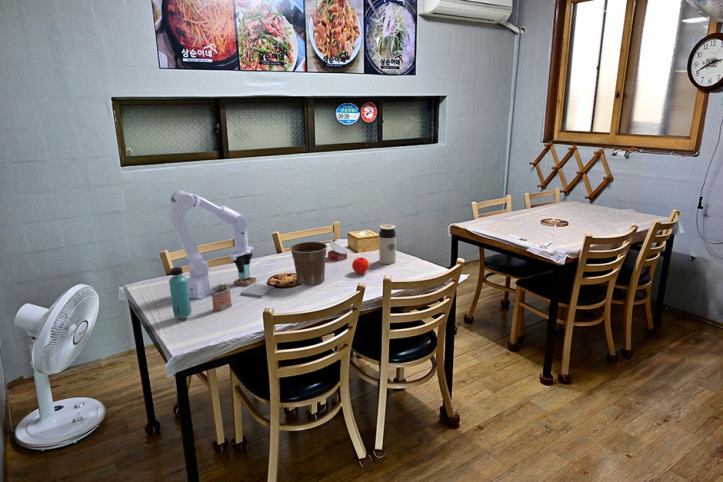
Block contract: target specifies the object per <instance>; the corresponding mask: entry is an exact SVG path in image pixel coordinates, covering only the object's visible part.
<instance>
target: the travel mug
mask: <svg viewBox="0 0 723 482" xmlns="http://www.w3.org/2000/svg"><path fill="white" fill-rule="evenodd" d="M395 228H396V225H394V224H381V225H380V226H379V229H380V231H379V235H378V236H379V237H378V239H379V240H378V241H379V242H378V243H379V244H378V245H379V253H378V254H379V262H380V263H382V264H385V265H391V264H394V263H395V262H396V259H397V257H396V256H397V255H396V253H397V252H396V251H397V250H396V247H397V245H396V243H397V239H396V238H397V237H396V235H397V232H396V230H395Z"/></svg>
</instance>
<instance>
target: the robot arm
mask: <svg viewBox="0 0 723 482" xmlns="http://www.w3.org/2000/svg"><path fill="white" fill-rule="evenodd" d="M169 201H170V206H169V211H168V218H169V220H170V222H171V224H172V226H173V229H174V231H175V233H176V235H177V237H178V239H179V242H180V244H181V245H182V248H183V250H184V252H185V255H186V256H185V257H186V261H187V263H186V264H187V267H188V268H189V270H190V271H189V276H188V278H187V286H188V293H189V298H192V299H199V300H202V299H204V298H205V297H207V296H208V295H211V293H212V292H214V291H213V289H211V287H210V279H209V278H210V277H209V270H210V268H209V267H210V266H209V263H208V262H207V261H206V260H205V259H204V258H203V256H202V254H201V253H200V252H199V249H198V247H197V245H196V243H195V242H196V241H194V239H193V236H192V233H191V231H190V229H189V227H188V224H187V222H186V220H185V218H184V217H185V216H186V214H187V212H188V211H189V210H191V208H192V207H193V208H197V207H200V208H204V209H205V210H208V211H210V212H212V213H214V214H215V216H216V218H217V219H219V220H221V221H223V222H225V223H227V224H230V225H231V226H232V230H233V233H232V234H233V241H234V243H233V244H234V252H233V253H232V254H231V255H230V261H233V263H234V265H235V266H236V269H237V272H238V271H239V272H240V273H243V272H244V264H249V266H251V265H250V264H251V261H252V257H253V255H254V253H252V252H254V246H252V245H249V239H248V226H249V220H248V219H247V217H246V216H244V215H242V213H240V212H239V211H237V210H236V211H235V210H233V209H231V208H230V206H229V205H219V206H218V205H217V204H215V203H213V202H211V201H209V200H207V199H205V198H204V197H202V196H199V195H198V194H195V193H191V192H187V191H186V190H183V189H178V190H175V191H174V192H173V193H172V195H171V197H170V199H169Z"/></svg>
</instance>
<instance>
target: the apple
mask: <svg viewBox="0 0 723 482" xmlns="http://www.w3.org/2000/svg"><path fill="white" fill-rule="evenodd" d="M351 267H352V269H353V271H354V273H356V274H358V275H362V274H365V273H366V272H367V271H368V270H369V267H370V264H369V261H368V260H367V258H365V257H356V258H355V259H354V260H353V261H352V264H351Z"/></svg>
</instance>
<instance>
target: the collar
mask: <svg viewBox="0 0 723 482" xmlns="http://www.w3.org/2000/svg"><path fill="white" fill-rule="evenodd" d="M255 282H257V277H253V276H249V277H248V278H246V279H243V278H239V277H238V278H237V279H235V280H234V281H233V285H234V286H241V287H250V286H251V285H253V284H255Z"/></svg>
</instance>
